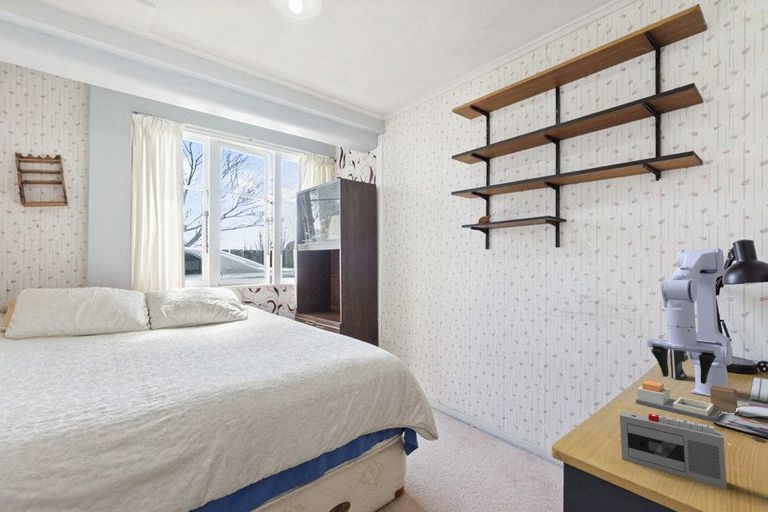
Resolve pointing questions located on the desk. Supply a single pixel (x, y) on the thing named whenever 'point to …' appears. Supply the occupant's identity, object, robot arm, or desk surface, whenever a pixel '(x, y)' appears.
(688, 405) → the grey tray with holders
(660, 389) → the button
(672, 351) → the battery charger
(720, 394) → the block
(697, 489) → the desk surface
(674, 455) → the cassette player
